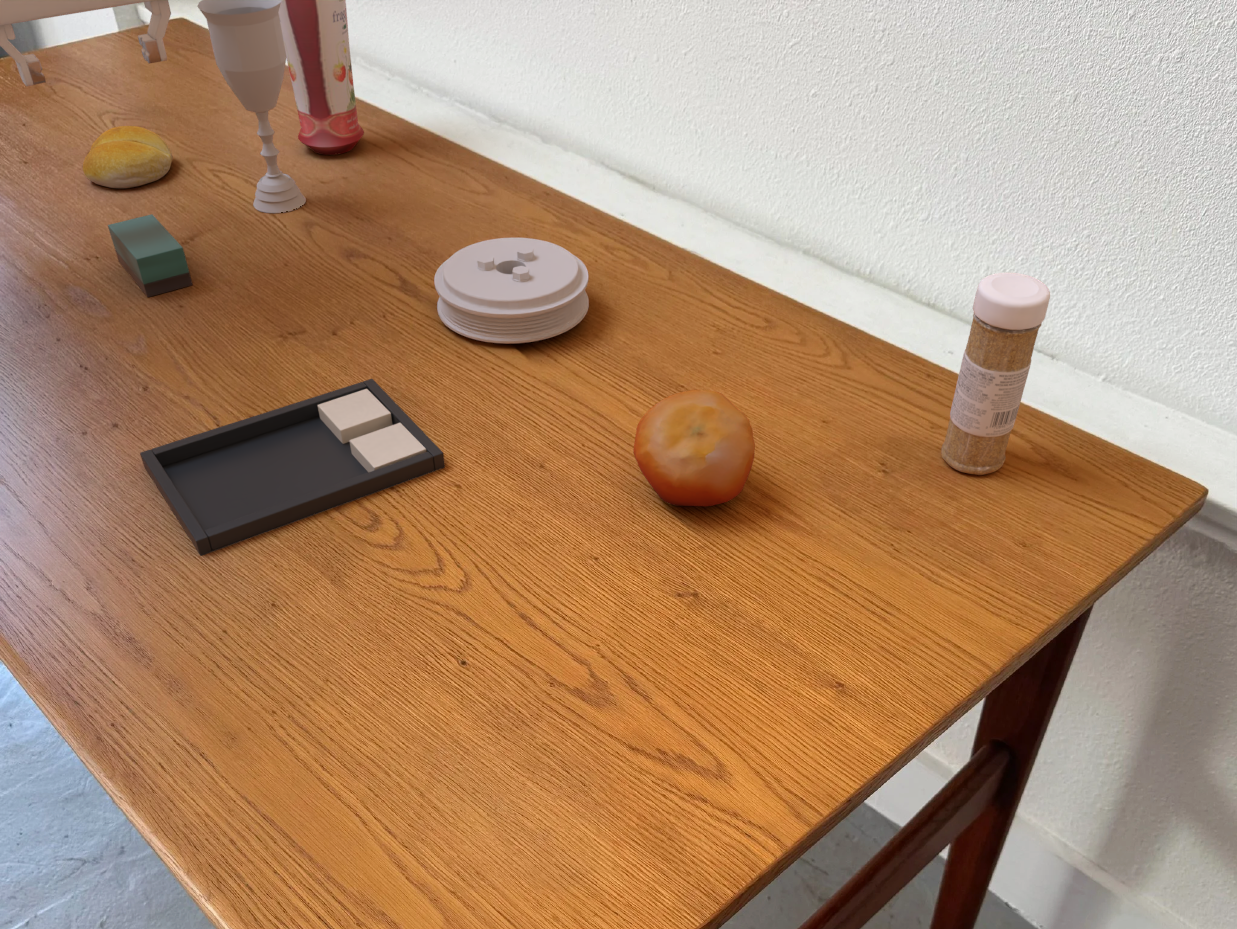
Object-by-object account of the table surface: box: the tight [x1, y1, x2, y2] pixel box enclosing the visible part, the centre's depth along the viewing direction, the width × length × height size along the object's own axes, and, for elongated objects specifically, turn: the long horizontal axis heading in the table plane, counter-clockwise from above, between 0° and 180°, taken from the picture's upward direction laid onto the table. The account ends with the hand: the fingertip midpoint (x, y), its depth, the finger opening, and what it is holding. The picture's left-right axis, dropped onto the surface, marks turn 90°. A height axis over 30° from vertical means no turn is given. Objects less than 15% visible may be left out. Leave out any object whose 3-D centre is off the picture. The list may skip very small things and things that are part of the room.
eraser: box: [107, 213, 193, 298], centre depth 103 cm, size 8×4×4 cm, turn 34°
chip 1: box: [318, 389, 393, 444], centre depth 86 cm, size 4×4×1 cm
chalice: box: [196, 0, 307, 214], centre depth 109 cm, size 7×7×18 cm
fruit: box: [633, 388, 756, 507], centre depth 80 cm, size 8×8×8 cm
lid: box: [433, 237, 590, 344], centre depth 98 cm, size 13×13×5 cm
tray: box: [139, 378, 446, 557], centre depth 82 cm, size 18×12×2 cm, turn 124°
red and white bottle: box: [278, 0, 365, 156], centre depth 116 cm, size 7×7×28 cm
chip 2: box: [349, 423, 426, 472], centre depth 83 cm, size 4×4×1 cm
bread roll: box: [82, 125, 174, 189], centre depth 119 cm, size 8×9×4 cm
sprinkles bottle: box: [940, 271, 1051, 476], centre depth 80 cm, size 5×5×14 cm
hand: (96, 71), depth 93 cm, fingers open, 8 cm apart
